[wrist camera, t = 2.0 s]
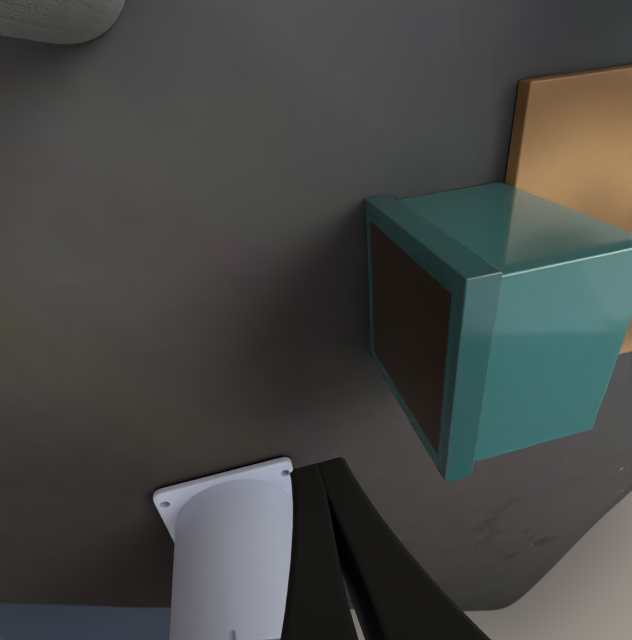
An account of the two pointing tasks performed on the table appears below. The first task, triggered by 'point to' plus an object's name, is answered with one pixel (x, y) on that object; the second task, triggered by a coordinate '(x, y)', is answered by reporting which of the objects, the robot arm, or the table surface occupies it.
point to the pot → (494, 317)
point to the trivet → (577, 145)
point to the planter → (58, 19)
